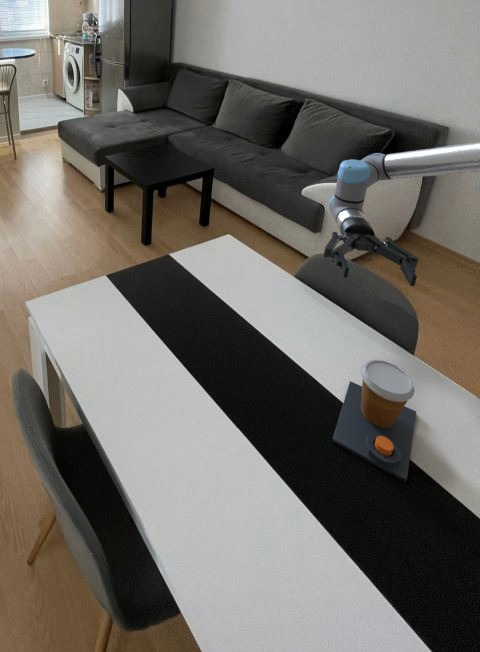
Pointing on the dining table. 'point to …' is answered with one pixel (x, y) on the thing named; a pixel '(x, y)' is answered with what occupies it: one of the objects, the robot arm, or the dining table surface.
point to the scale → (375, 435)
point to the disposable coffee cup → (384, 392)
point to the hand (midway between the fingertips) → (379, 277)
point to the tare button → (384, 446)
